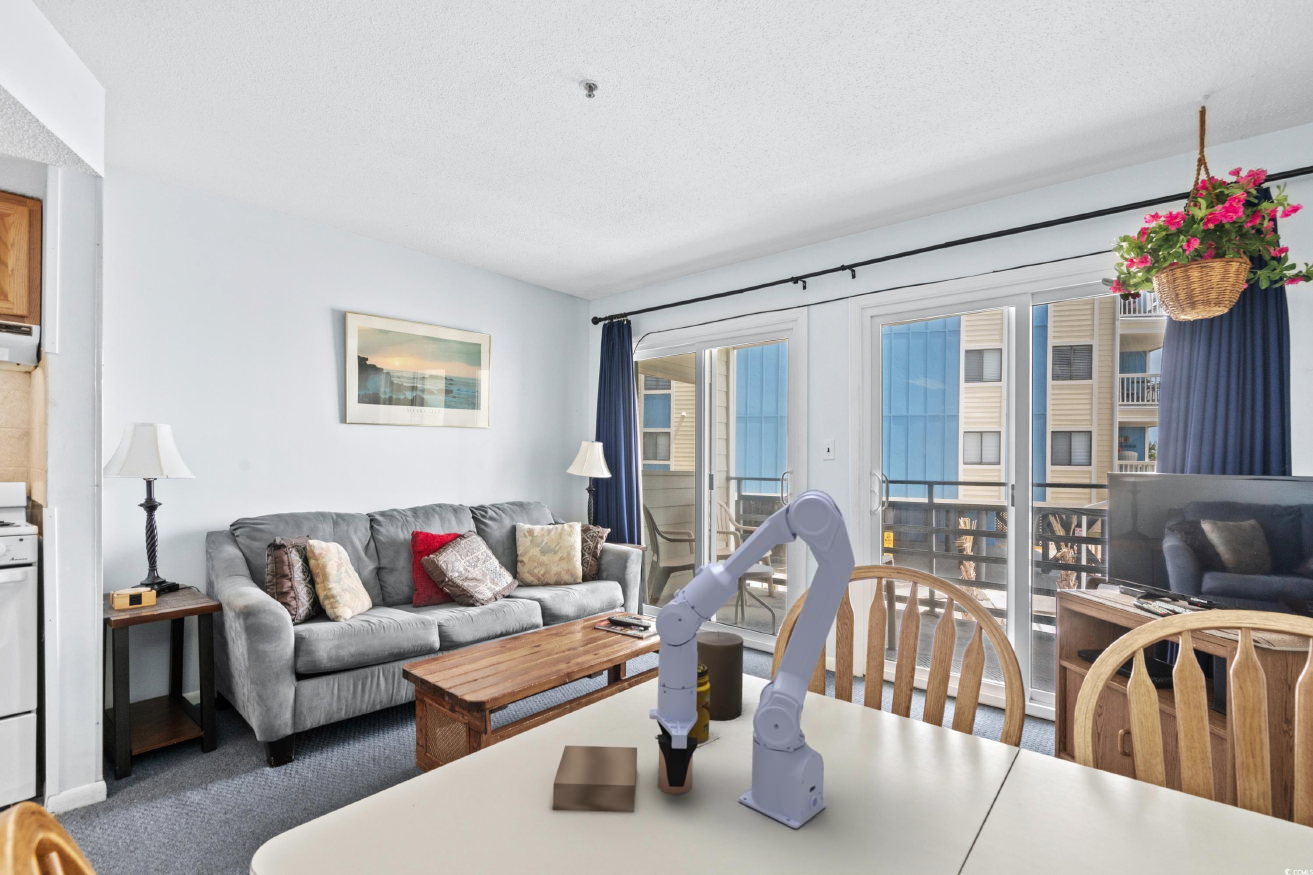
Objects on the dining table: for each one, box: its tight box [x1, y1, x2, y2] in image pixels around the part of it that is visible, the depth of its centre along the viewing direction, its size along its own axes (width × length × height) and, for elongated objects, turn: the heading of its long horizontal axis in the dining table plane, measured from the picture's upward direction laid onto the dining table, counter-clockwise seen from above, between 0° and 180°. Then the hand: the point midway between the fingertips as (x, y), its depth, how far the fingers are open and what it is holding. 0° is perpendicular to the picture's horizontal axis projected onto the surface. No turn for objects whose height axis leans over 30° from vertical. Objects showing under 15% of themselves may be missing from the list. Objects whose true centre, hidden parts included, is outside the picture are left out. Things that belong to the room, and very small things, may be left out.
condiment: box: [654, 663, 720, 748], centre depth 110 cm, size 7×8×12 cm
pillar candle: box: [696, 630, 744, 721], centre depth 122 cm, size 10×10×15 cm
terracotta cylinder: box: [657, 746, 694, 795], centre depth 94 cm, size 5×5×6 cm
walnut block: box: [552, 745, 638, 813], centre depth 93 cm, size 11×11×4 cm
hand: (675, 775), depth 94 cm, fingers closed on terracotta cylinder, 5 cm apart
